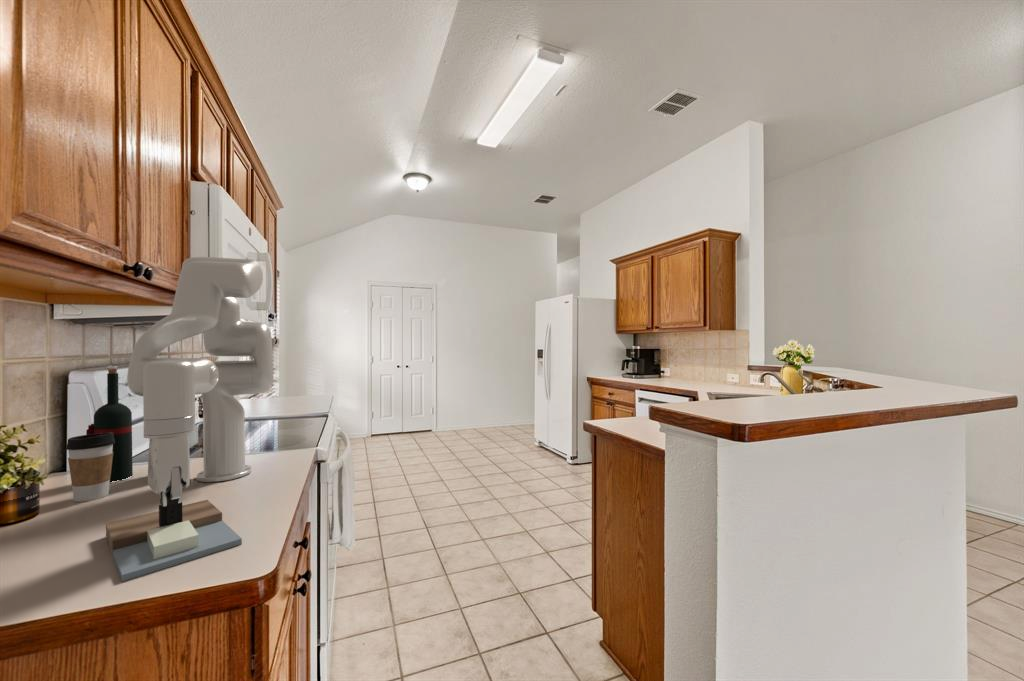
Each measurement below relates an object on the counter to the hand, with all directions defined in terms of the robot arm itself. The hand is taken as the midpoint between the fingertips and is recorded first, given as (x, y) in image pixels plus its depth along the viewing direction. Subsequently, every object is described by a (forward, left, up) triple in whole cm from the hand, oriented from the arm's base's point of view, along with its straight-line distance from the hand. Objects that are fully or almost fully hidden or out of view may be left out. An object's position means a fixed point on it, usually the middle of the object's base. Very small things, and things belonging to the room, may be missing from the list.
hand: (170, 524), depth 79 cm
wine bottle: (-58, -4, -3) cm, 58 cm away
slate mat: (+7, 0, -3) cm, 7 cm away
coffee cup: (-43, -8, -3) cm, 43 cm away
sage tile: (+6, -1, -2) cm, 6 cm away
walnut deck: (-5, 0, -3) cm, 6 cm away
